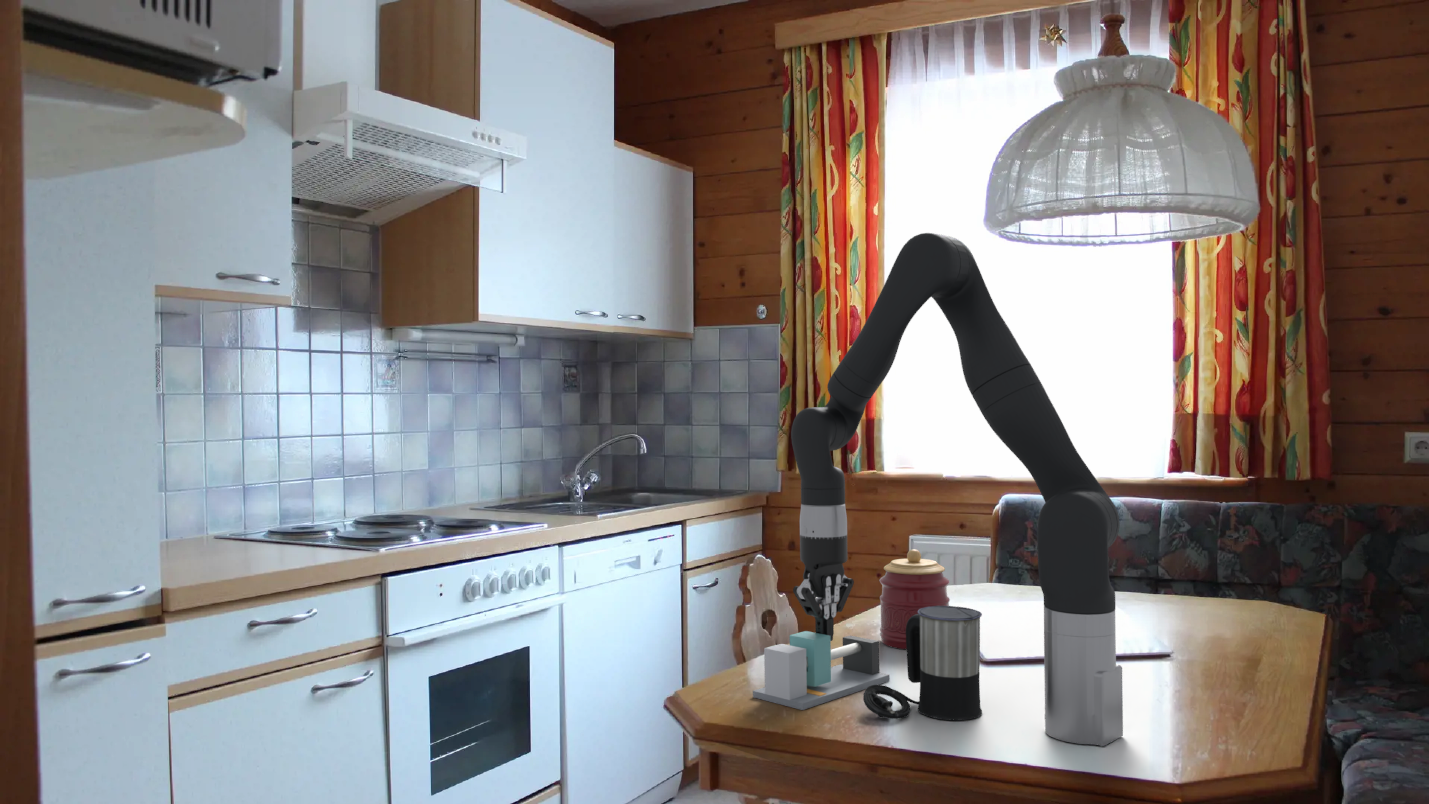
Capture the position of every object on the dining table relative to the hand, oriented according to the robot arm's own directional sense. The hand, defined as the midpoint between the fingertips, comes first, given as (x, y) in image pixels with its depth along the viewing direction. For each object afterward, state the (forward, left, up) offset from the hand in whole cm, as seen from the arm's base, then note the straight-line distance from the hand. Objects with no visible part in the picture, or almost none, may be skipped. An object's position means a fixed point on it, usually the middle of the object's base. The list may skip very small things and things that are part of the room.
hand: (824, 641), depth 167 cm
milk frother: (-19, +1, -8) cm, 20 cm away
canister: (+7, -35, -8) cm, 37 cm away
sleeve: (0, +4, -6) cm, 7 cm away
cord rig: (0, +1, -8) cm, 8 cm away
